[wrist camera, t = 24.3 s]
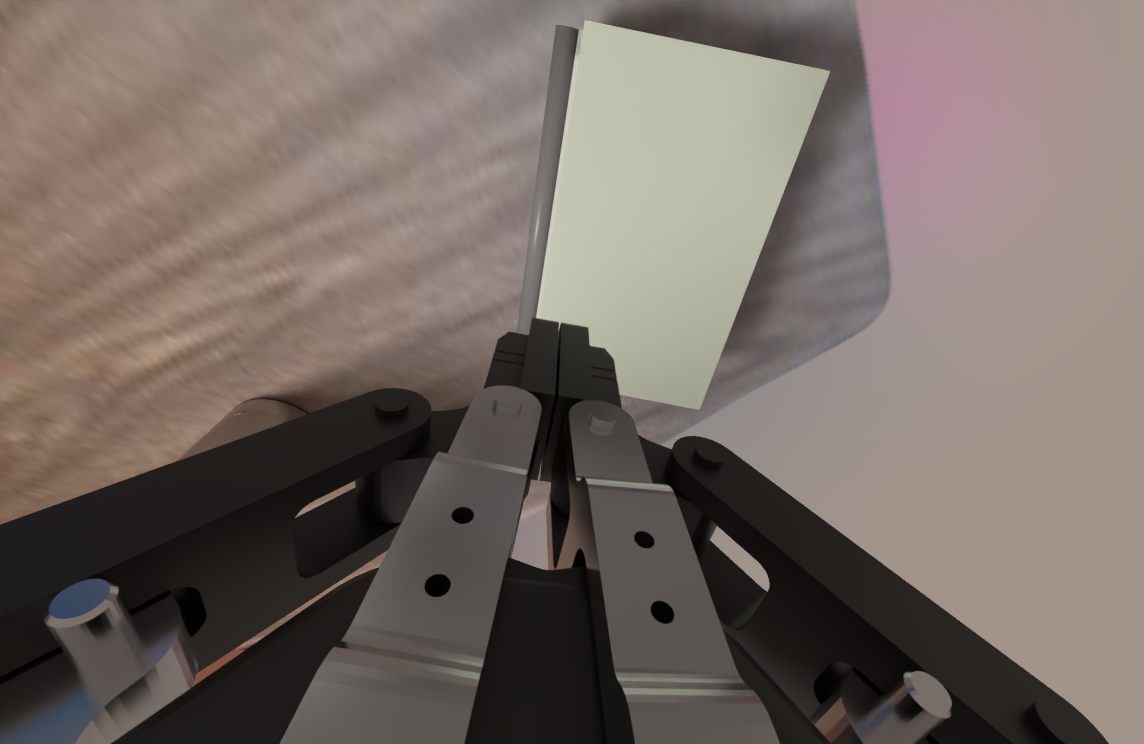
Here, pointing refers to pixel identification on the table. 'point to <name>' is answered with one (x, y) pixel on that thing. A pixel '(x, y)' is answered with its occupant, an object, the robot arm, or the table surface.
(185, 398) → the table surface
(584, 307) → the cover
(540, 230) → the shallow rectangular tray
